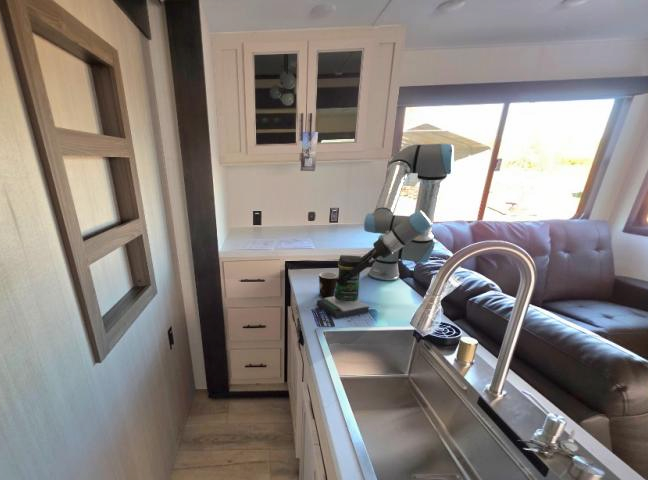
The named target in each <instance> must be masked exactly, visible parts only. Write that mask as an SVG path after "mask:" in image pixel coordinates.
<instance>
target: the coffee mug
mask: <svg viewBox="0 0 648 480" xmlns="http://www.w3.org/2000/svg"><path fill="white" fill-rule="evenodd" d="M338 275H339V274H337V273H335V272H330V271H324V272H320V273H319V274H318V284H319V297H320V298H323V299H325V298H328V297H333V296H334V294H335V289H336V285H337V282H336V280H337V279H338Z"/></svg>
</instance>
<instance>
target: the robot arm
mask: <svg viewBox="0 0 648 480" xmlns="http://www.w3.org/2000/svg"><path fill="white" fill-rule="evenodd" d="M454 154H455V147H454V145H453V144H451V143H429V144H428V143H427V144H426V143H425V144H412V145H409V146H406V147H405V148H402V149H401V150H400V151H398V152H397V154H395V155H394V156H393V158H392V159H391V160H390V161H389V163H388V166H387V168H386V174H387V175H386V178H385V181H384V183H383V186H382V189H381V192H380V194H379V198H378V200H377V203H376V205H375V208H374V211H373V212H371V213H369V212H368V213H367V214H366V215H365V217H364V223H363V230H364V231H365V232H366V233H372V234H380V235H379V236H378V238H377V240H376V241H374V242H373V243H372V245H373V248H372V249H371V250H369V251H368V252H367V253H365V254H364V255H363V256H361V257H362V261H361V262H360V263H359V264H358V265H356V266H355V267H354V268H353V269H352V270H348V272H347V273H345V274H344V275H342V276H341V277H340V278H338V279H337V280H336V282H337V283H338V284H339V285H342V284H343V283H345V282H346V281H348V280H349V279H350V278H352V277H355V276H356V275H357V274H359V273H360V274H361V273H362V272H363V271H364V270H366V269H367V268H369V266H371V268H370V269H369V271H368V276H369V277H371V279H375V280H378V281H385V282H386V281H387V282H388V281H389V282H390V281H391V282H393V281H396V280H399V278H400V272H399V266H398V265H399V260H400V261H408V262H414V263H428V262H429V261H430V259H431V256H432V253H433V251H434V248H435V246H436V243H437V240H436V239H434V235H433V233H432V229H433V226H434V225H433V224H434V220H435V215H436V210H437V207H438V202H439V198H440V191H441V188H442V183H443V182H444V181H446V179H447V178H448V175H451V174H452V173H453V165H454V156H455V155H454ZM410 174H417V176H416V178H417V180H418V181H419V186H418V192H417V197H416V202H415V209H414V213H411V214H410V215H397V214H395V211H396V208H397V205H398V202H399V198H400V196H401V194H402V190H403V186H404V184H405V181H406V178H408V177H409V175H410Z"/></svg>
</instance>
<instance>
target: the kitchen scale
mask: <svg viewBox="0 0 648 480" xmlns="http://www.w3.org/2000/svg"><path fill="white" fill-rule="evenodd" d="M316 307H318V308H319V309H321V310H322V311H324V312H325V313H327V314H328V315H329V316H331V317H332V318H333V319H334V320H338V319H342V318H347V317H348V318H349V317H353V316H357V315H363V314H367V313H369V309H370V307H369V306H368V304H366V303H364V302H362V301H361V300H359V299H358V300H356V301H340V300H337V299H336V298H335V296H333V297H328V298H323V299H318V300H316Z"/></svg>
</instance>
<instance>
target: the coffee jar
mask: <svg viewBox="0 0 648 480" xmlns="http://www.w3.org/2000/svg"><path fill="white" fill-rule="evenodd" d="M362 257H363V256H361V255H348V254H347V255H346V254H341V255H340V256H339V259H338V262H337V266H338V274H337V275H338V278H340V277H341V276H342V275H344V274H345V273H347V272H348V270H352V269H353V268H354V267H355V266H356V265H358V264H359V263H360V262H361V261H362ZM360 275H361V272H360V273H359V274H357V275H356V276H355V277H352V278H350V279H349V280H348V281H346V282H345V283H343V284H342V285H339V284H338V283H337V284H336V288H335V293H334V296H335V298H336V299H337V300H340V301H356V300H359V293H360V291H359V290H360Z"/></svg>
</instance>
